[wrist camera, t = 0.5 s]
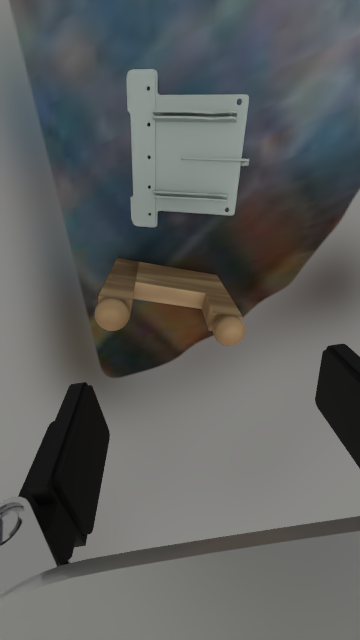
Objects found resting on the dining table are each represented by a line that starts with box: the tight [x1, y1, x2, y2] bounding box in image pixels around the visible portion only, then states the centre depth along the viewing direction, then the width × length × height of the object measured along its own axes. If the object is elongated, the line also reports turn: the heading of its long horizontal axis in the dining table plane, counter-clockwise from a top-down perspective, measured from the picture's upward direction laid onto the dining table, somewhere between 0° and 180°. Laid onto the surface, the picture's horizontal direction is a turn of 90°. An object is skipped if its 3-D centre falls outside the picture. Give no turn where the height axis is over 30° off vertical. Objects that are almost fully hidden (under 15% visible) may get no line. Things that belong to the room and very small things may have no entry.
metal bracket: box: [127, 69, 249, 227], centre depth 30 cm, size 14×6×15 cm
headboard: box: [95, 258, 245, 346], centre depth 30 cm, size 3×14×16 cm, turn 78°
